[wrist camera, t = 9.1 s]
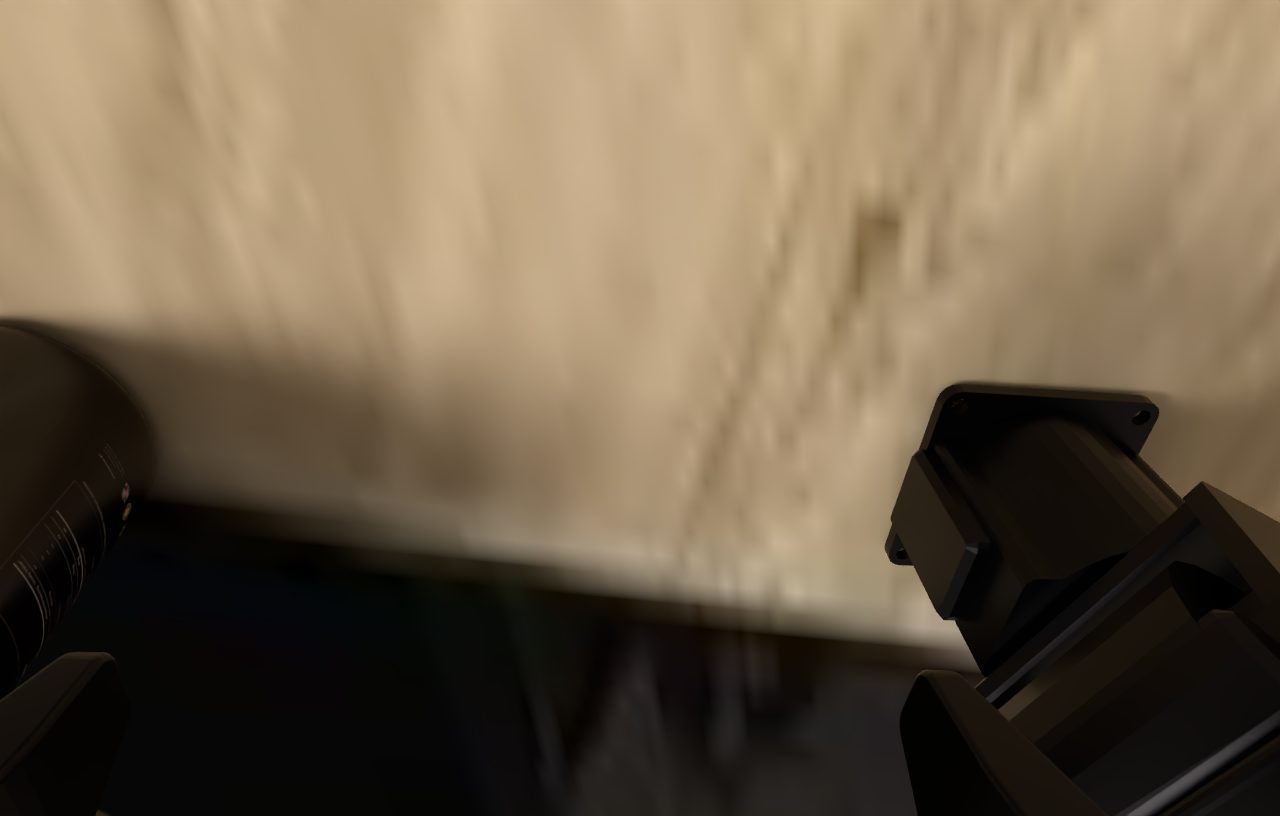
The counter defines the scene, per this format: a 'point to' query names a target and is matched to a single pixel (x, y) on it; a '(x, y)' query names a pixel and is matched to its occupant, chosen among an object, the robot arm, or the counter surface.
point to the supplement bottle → (59, 486)
